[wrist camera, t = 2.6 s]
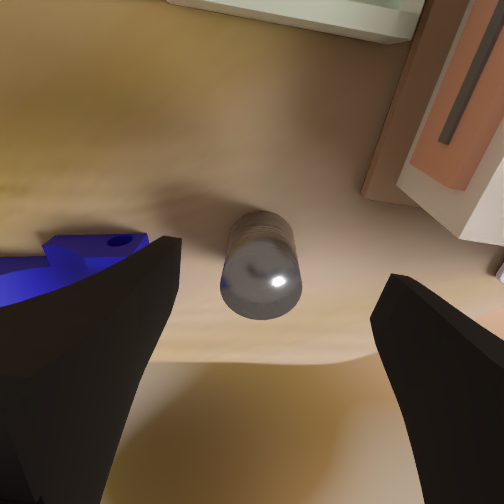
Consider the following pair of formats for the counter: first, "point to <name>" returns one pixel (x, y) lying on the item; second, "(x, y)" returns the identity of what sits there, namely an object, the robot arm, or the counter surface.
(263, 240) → the coupling
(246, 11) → the parts tray
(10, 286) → the blue cradle block
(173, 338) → the counter surface
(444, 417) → the robot arm
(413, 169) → the mounted housing
